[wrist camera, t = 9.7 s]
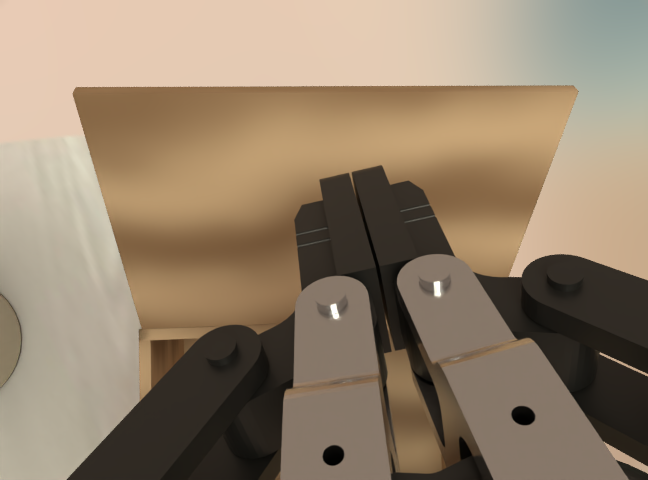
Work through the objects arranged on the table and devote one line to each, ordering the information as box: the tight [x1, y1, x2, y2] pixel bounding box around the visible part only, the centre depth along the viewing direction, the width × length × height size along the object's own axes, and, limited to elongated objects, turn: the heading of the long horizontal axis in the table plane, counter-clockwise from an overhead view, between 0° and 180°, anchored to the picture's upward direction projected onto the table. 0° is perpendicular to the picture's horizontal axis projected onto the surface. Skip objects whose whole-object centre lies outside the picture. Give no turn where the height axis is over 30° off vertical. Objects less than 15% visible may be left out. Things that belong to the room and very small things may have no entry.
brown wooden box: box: [139, 320, 446, 480], centre depth 35 cm, size 14×20×11 cm
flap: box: [73, 86, 578, 329], centre depth 26 cm, size 14×20×1 cm
